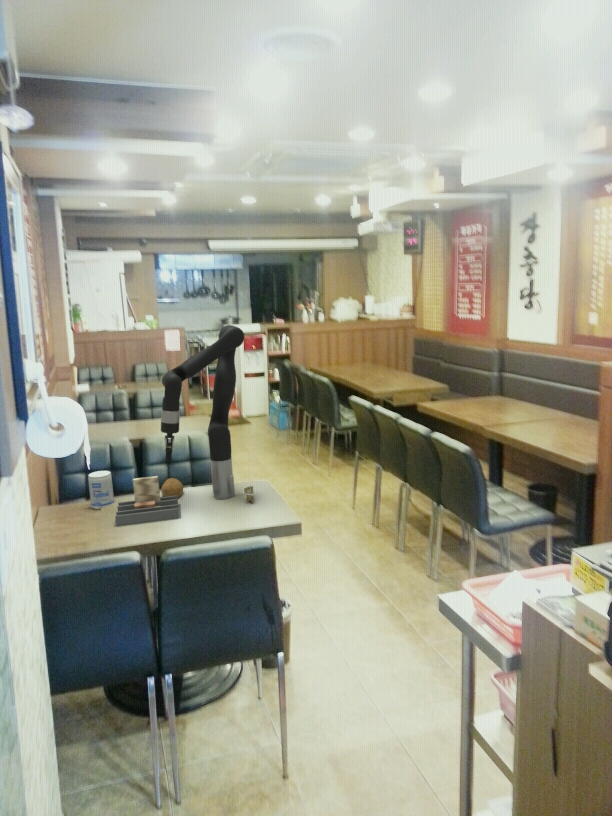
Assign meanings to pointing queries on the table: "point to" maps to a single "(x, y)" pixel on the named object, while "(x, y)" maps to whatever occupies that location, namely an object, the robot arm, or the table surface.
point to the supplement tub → (100, 489)
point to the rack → (148, 512)
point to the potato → (172, 488)
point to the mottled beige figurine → (249, 492)
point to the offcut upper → (144, 505)
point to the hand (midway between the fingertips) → (168, 458)
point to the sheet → (146, 489)
